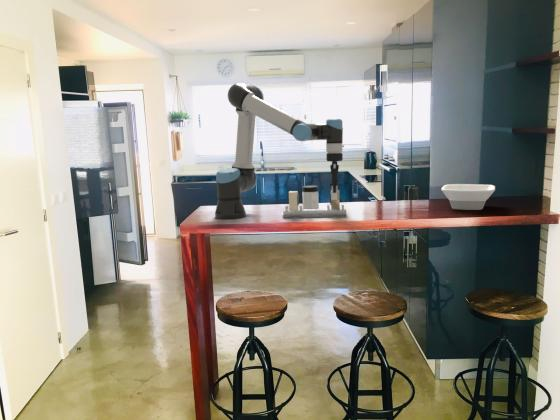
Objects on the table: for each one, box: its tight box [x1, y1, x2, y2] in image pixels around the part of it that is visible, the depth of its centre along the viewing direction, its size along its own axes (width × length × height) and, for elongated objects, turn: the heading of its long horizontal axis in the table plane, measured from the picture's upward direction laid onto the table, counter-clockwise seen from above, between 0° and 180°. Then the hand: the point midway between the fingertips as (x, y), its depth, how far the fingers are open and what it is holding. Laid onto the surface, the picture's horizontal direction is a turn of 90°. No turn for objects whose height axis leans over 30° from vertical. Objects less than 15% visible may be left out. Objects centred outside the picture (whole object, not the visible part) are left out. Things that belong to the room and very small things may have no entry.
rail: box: [282, 190, 348, 219], centre depth 220 cm, size 30×9×12 cm, turn 83°
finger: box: [329, 189, 341, 210], centre depth 219 cm, size 4×4×9 cm
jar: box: [301, 185, 320, 209], centre depth 241 cm, size 9×8×12 cm
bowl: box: [440, 183, 496, 211], centre depth 227 cm, size 24×25×10 cm
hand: (334, 197), depth 219 cm, fingers open, 13 cm apart
